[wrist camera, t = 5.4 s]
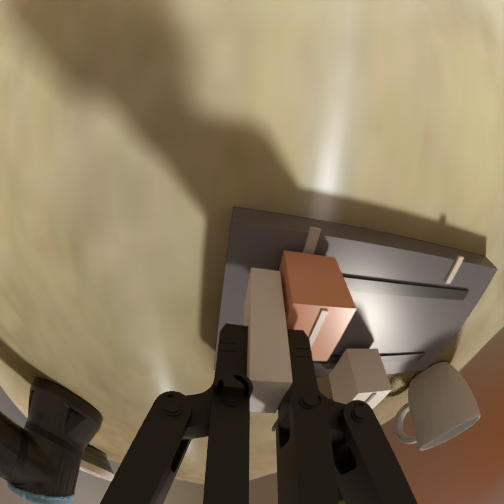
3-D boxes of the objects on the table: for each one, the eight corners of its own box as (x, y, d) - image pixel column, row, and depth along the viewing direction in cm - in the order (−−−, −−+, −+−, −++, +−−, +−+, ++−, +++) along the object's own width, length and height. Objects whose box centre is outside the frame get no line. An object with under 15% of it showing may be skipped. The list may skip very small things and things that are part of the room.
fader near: (269, 304, 17) (273, 360, 13) (283, 250, 15) (293, 304, 11) (314, 308, 17) (327, 362, 13) (334, 257, 15) (356, 310, 11)
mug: (438, 350, 25) (467, 418, 17) (464, 358, 27) (489, 412, 19) (369, 404, 31) (383, 465, 23) (404, 405, 33) (419, 456, 25)
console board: (215, 354, 24) (213, 374, 22) (234, 200, 16) (232, 216, 14) (418, 359, 25) (424, 373, 24) (487, 253, 18) (500, 266, 16)
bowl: (128, 463, 63) (124, 485, 55) (87, 451, 65) (82, 471, 57) (96, 444, 53) (90, 470, 45) (55, 430, 55) (48, 452, 46)
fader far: (328, 375, 22) (336, 417, 18) (346, 348, 19) (358, 394, 16) (357, 375, 22) (367, 414, 18) (377, 348, 20) (392, 391, 16)
